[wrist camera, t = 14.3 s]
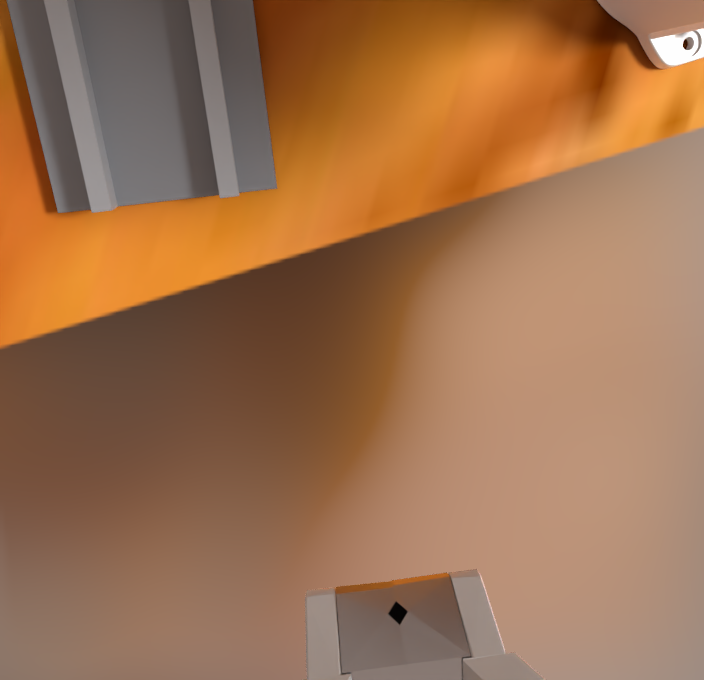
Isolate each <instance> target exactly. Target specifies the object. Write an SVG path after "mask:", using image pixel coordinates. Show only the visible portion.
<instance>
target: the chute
mask: <svg viewBox="0 0 704 680" xmlns="http://www.w3.org/2000/svg"><path fill="white" fill-rule="evenodd" d="M7 4H8V8H9V13H10V17H11V21H12V25H13V29H14V33H15V37H16V41H17V46H18V50H19V54H20V58H21V62H22V66H23V70H24V74H25V79H26V83H27V87H28V91H29V95H30V99H31V103H32V107H33V112H34V116H35V120H36V124H37V128H38V132H39V136H40V140H41V145H42V149H43V153H44V157H45V161H46V165H47V169H48V173H49V178H50V182H51V186H52V190H53V194H54V198H55V202H56V206H57V211H58V213H63V212H72V211H81V210H90V209H91V211H92V213H93V212H102V211H111V210H113V209H115V208H116V207H117V206H125V205H134V204H143V203H152V202H161V201H170V200H178V199H187V198H196V197H205V196H214V195H220V198H225V197H234V196H239V193H240V192H249V191H258V190H267V189H276V188H277V184H276V176H275V168H274V161H273V153H272V145H271V138H270V130H269V122H268V115H267V107H266V99H265V91H264V84H263V76H262V68H261V61H260V53H259V45H258V37H257V30H256V22H255V14H254V7H253V0H7Z"/></svg>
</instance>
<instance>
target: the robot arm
mask: <svg viewBox="0 0 704 680" xmlns="http://www.w3.org/2000/svg"><path fill="white" fill-rule="evenodd" d="M597 1H598V3H599V4H600V5H601V6H602V7H603V8H604V9H605V10H606V11H607V12H608V13H609V14H610V15H611V16H612V17H613V18H615V19H616V20H618V21H619V22H620V23H622V24H623V25H625V26H626V27H627V28H629V29H630V30H631V31H632V32H633V33H634V34H635V35H636V36H637V38H638V40H639V42H640V44H641V45H642V47H643V49H644V51H645V53H646V54H647V56H648V58H649V59H650V61H651V62H652V63H653V64H654V65H655V66H656V67H658V68H660V69H668V68H672V67H675V66H679V65H682V64H685V63H688V62H691V61H694V60H697V59H700V58H703V57H704V0H597ZM685 39H686V40H687V42H688V46H687V48H686V50H685V49H684V48H683V42H684V40H685ZM305 621H306V663H307V664H306V666H307V667H306V668H307V679H305V680H546V679H545V678H544V677H542V676H541V675H540V674H539V673H538V672H537V671H536V670H535V669H533V668H532V667H531V666H530V665H529V664H528V663H527V662H526V661H524V660H523V659H522V658H521V657H520V656H519V655H518V654H517V653H515V652H510V653H506V651H505V648H504V645H503V642H502V639H501V636H500V633H499V629H498V626H497V623H496V620H495V617H494V614H493V611H492V608H491V605H490V601H489V599H488V596H487V592H486V589H485V586H484V583H483V580H482V577H481V574H480V572H479V571H478V570H477V569H474V570H466V571H458V572H450V573H449V574H448V573H447V572H446V573H439V574H432V575H425V576H418V577H411V578H404V579H397V580H392V581H390V582H380V583H370V584H360V585H350V586H340V587H336V588H335V587H333V588H324V589H315V590H307V591H306V597H305Z"/></svg>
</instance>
